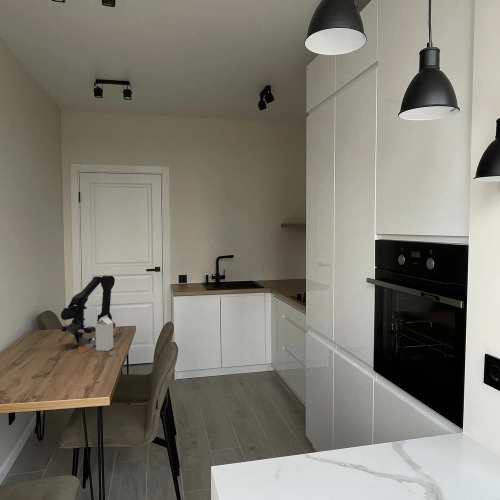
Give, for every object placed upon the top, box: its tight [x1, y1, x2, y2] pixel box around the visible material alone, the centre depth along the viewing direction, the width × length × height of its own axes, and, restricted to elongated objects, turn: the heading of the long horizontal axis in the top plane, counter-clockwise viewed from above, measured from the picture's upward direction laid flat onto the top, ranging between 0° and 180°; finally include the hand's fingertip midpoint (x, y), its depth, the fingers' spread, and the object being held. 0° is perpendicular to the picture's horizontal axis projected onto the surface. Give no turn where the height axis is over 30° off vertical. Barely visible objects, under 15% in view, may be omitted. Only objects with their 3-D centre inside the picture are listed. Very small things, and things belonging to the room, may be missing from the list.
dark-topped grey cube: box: [78, 335, 92, 347], centre depth 238 cm, size 5×6×5 cm
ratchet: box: [78, 336, 96, 354], centre depth 233 cm, size 16×8×5 cm, turn 173°
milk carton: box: [95, 315, 114, 352], centre depth 231 cm, size 7×7×19 cm
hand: (78, 343), depth 239 cm, fingers closed
